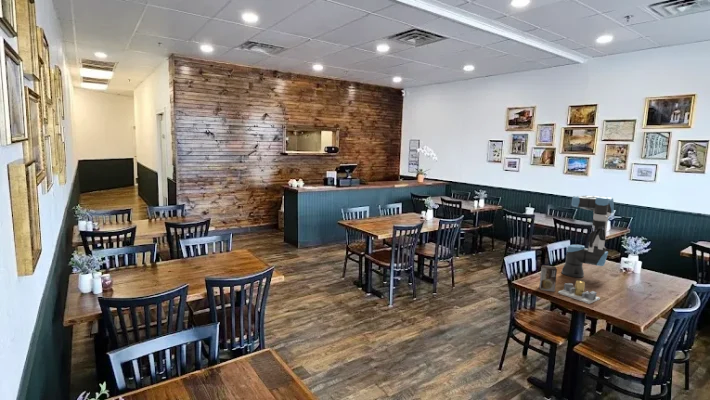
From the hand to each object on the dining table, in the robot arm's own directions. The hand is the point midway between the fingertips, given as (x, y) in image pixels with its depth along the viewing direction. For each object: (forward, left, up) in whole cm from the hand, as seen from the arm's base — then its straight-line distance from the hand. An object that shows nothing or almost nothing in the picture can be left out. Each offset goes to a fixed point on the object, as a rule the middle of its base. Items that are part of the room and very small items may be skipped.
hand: (595, 250), depth 265 cm
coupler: (+1, -18, -28) cm, 33 cm away
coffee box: (-17, -25, -29) cm, 42 cm away
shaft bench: (+1, -18, -29) cm, 34 cm away
